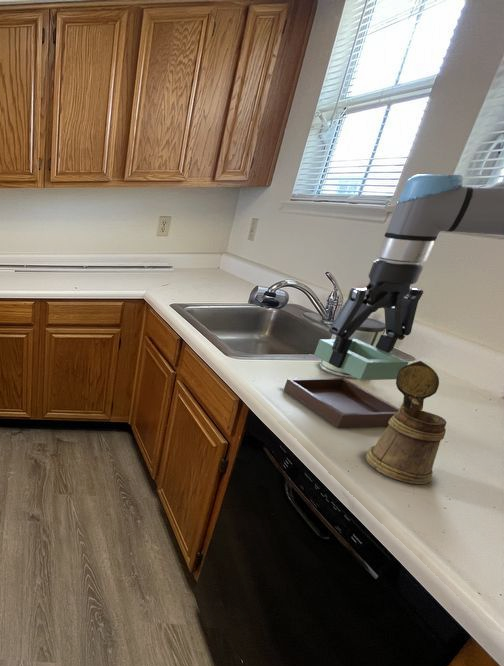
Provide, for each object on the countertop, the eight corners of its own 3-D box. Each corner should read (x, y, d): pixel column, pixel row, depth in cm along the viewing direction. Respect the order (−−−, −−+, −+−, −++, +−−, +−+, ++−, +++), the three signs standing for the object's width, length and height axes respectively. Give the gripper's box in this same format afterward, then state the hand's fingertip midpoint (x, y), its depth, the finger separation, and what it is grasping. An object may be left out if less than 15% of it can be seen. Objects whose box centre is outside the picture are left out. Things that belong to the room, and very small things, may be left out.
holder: (401, 425, 89) (407, 413, 88) (337, 427, 88) (342, 415, 87) (338, 388, 104) (343, 377, 103) (283, 390, 103) (287, 378, 102)
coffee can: (316, 360, 121) (333, 313, 114) (359, 366, 117) (379, 318, 111) (323, 373, 112) (342, 324, 106) (370, 381, 108) (393, 330, 102)
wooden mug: (408, 447, 82) (452, 364, 74) (438, 490, 71) (494, 398, 63) (353, 436, 85) (389, 356, 77) (374, 475, 74) (419, 386, 66)
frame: (400, 379, 86) (409, 361, 85) (360, 380, 86) (367, 362, 84) (349, 354, 98) (356, 338, 96) (313, 355, 97) (319, 339, 96)
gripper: (431, 257, 86) (386, 357, 96) (332, 257, 84) (296, 358, 94) (470, 264, 79) (417, 371, 89) (363, 264, 78) (321, 373, 88)
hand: (355, 364), depth 92 cm, fingers closed on frame, 9 cm apart
